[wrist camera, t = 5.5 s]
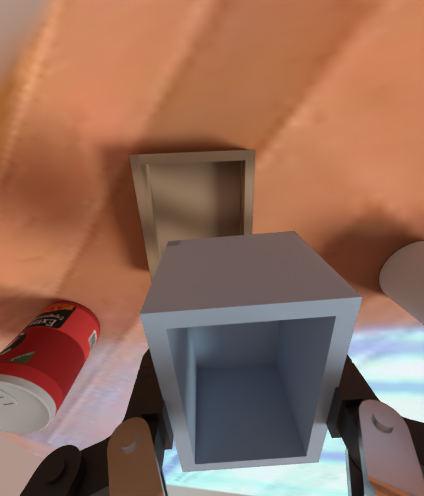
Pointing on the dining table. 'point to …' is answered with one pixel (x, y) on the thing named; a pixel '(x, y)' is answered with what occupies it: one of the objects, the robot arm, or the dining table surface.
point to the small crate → (248, 347)
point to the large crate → (192, 196)
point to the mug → (406, 279)
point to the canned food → (44, 365)
